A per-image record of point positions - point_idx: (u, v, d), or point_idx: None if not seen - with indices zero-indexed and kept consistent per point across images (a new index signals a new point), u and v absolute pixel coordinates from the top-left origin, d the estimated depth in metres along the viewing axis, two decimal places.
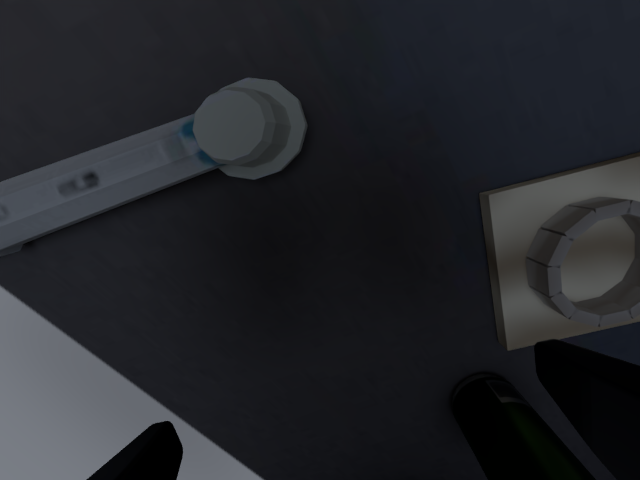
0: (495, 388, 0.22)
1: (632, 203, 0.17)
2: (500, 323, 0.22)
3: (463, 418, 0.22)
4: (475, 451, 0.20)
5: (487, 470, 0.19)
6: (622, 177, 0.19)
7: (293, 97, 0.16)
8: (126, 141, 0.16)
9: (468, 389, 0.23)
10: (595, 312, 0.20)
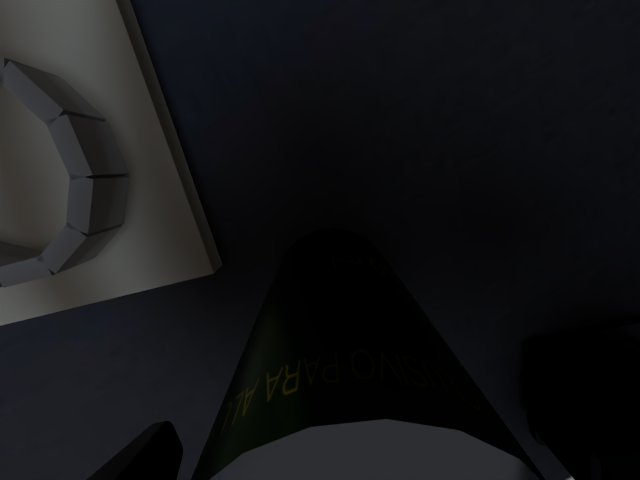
0: None
1: None
2: None
3: None
4: None
5: None
6: None
7: None
8: None
9: None
10: None
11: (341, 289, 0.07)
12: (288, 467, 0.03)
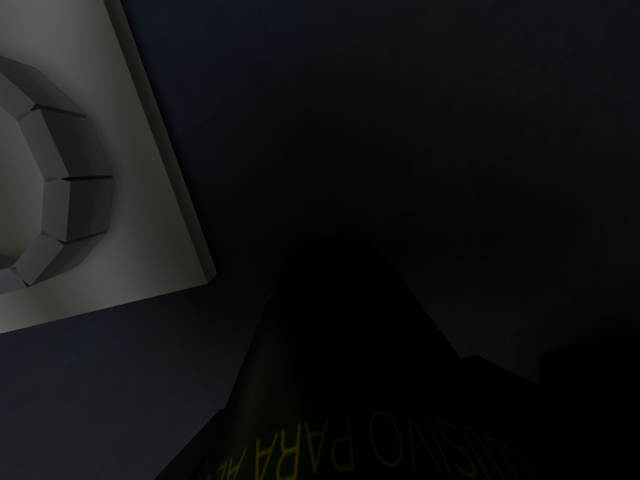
0: None
1: None
2: None
3: None
4: None
5: None
6: None
7: None
8: None
9: None
10: None
11: (350, 315, 0.06)
12: None
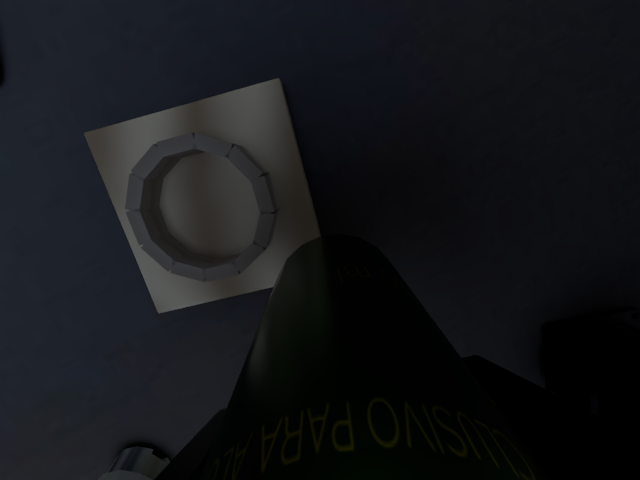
0: None
1: (128, 208, 0.16)
2: None
3: None
4: None
5: None
6: (123, 186, 0.18)
7: None
8: None
9: None
10: None
11: (349, 310, 0.06)
12: None
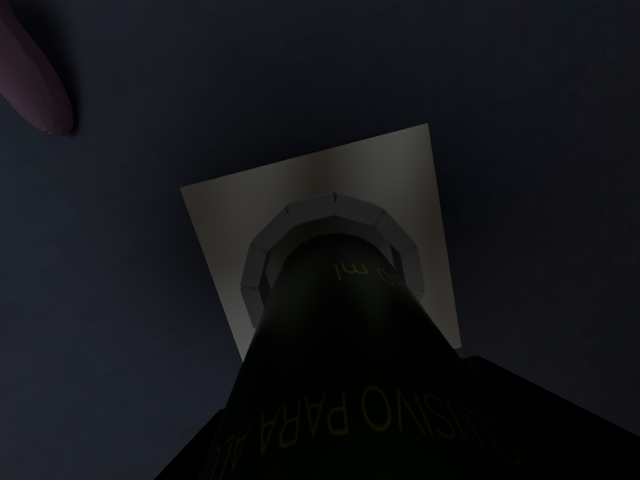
0: None
1: (244, 285, 0.13)
2: None
3: None
4: None
5: None
6: (224, 250, 0.15)
7: None
8: None
9: None
10: None
11: (347, 305, 0.06)
12: None
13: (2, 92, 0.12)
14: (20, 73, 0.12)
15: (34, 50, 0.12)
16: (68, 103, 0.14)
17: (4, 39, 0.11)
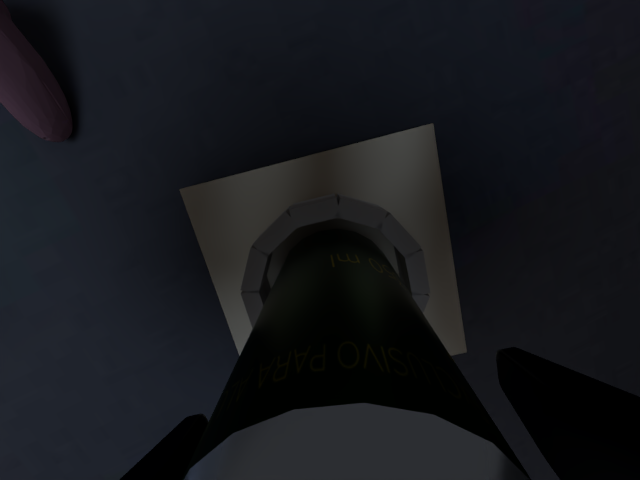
0: None
1: (245, 289, 0.13)
2: None
3: None
4: None
5: None
6: (224, 253, 0.15)
7: None
8: None
9: None
10: (409, 286, 0.13)
11: (336, 286, 0.07)
12: (272, 444, 0.03)
13: None
14: (17, 79, 0.11)
15: (32, 55, 0.12)
16: (67, 108, 0.14)
17: (1, 44, 0.11)
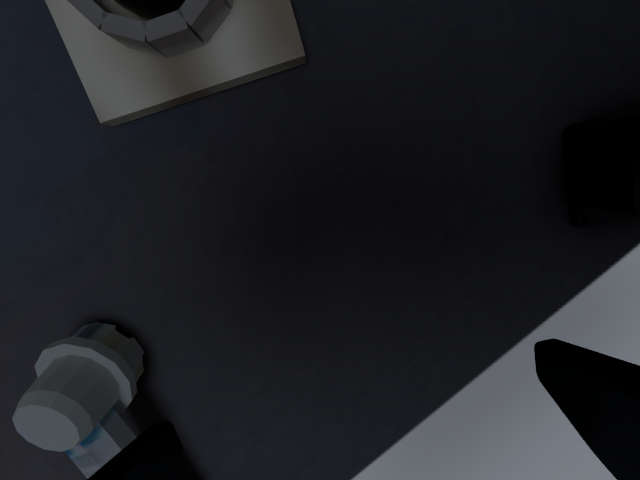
0: None
1: None
2: (270, 70, 0.16)
3: (131, 0, 0.13)
4: None
5: None
6: None
7: (43, 353, 0.18)
8: None
9: None
10: None
11: None
12: None
13: None
14: None
15: None
16: None
17: None
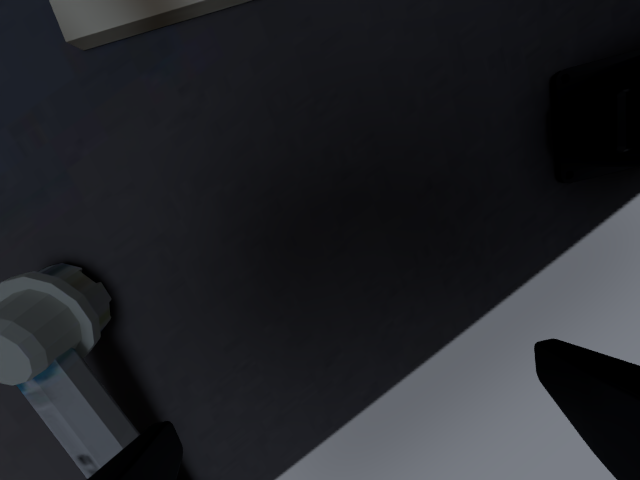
0: None
1: None
2: None
3: None
4: None
5: None
6: None
7: (1, 285, 0.17)
8: None
9: None
10: None
11: None
12: None
13: None
14: None
15: None
16: None
17: None
